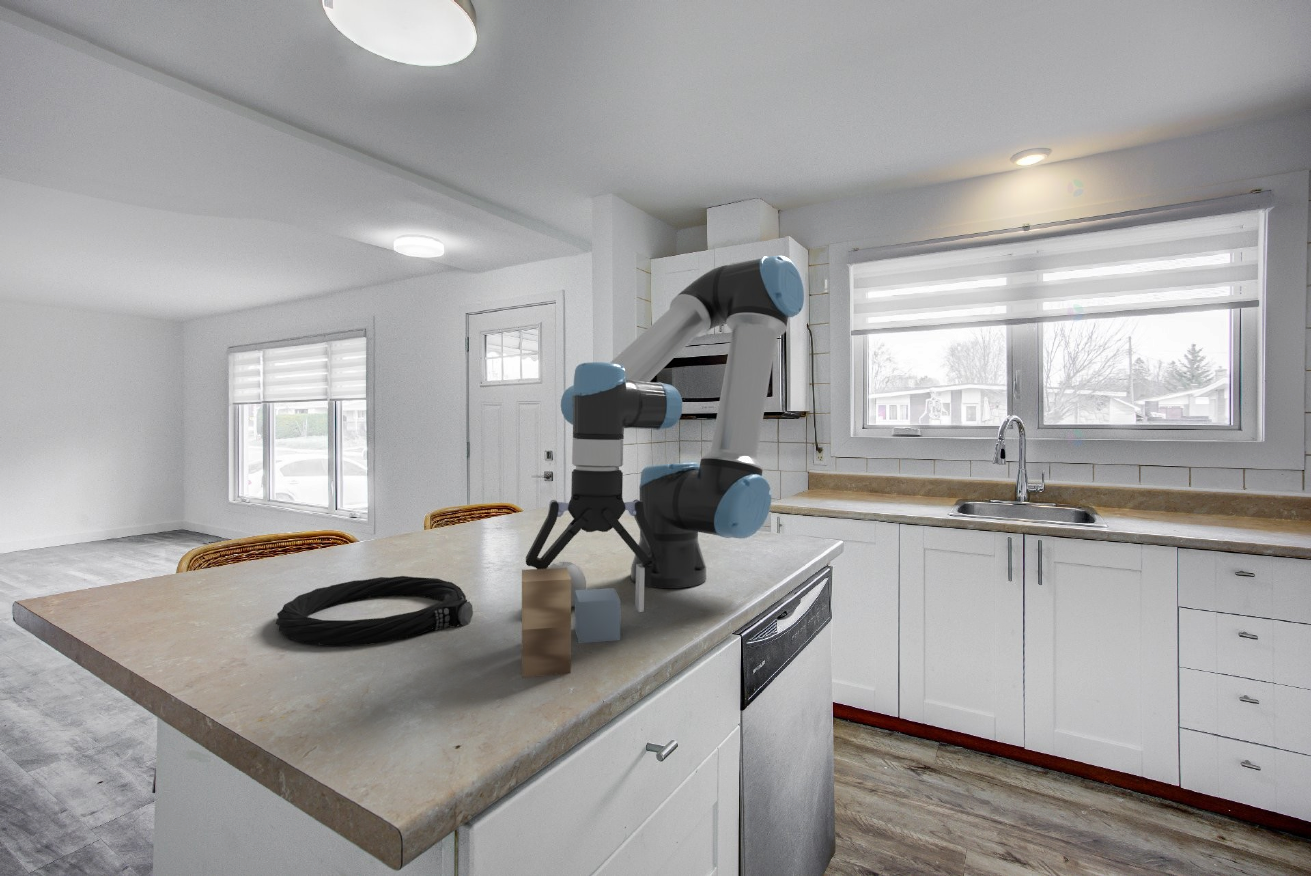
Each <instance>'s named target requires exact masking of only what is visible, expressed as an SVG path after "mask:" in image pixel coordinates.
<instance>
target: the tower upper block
mask: <svg viewBox="0 0 1311 876" xmlns="http://www.w3.org/2000/svg"><path fill="white" fill-rule="evenodd" d="M570 626H571V627H572V607H571V578H570V575H569V572H568V569H567V568H550V569H537V568H535V569H534V568H533V569H532V568H531V569H530V568H529V569H521V631H522V630H527V629H541V628H556V627H570Z"/></svg>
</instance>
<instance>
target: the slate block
mask: <svg viewBox="0 0 1311 876" xmlns="http://www.w3.org/2000/svg"><path fill="white" fill-rule="evenodd" d="M574 631H575V634H576V637H577V641H578V644H583V643H586V644H587V643H598V642H610V641H611V642H612V641H621V599H620V597H619V595H618V593H617V591H616V589H615V588H614V587H613V588H596V589H594V588H593V589H586V590H575V605H574Z"/></svg>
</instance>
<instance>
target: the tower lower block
mask: <svg viewBox="0 0 1311 876" xmlns="http://www.w3.org/2000/svg"><path fill="white" fill-rule="evenodd" d="M571 632H572V625H571V626H570V627H556V628H541V629H527V630H522V629H521V676H522V677H521V678H532V677H541V676H554V675H555V676H556V675H566V674H568V675H569V674H572V673H571V672H572V671H571V670H572V668H571V667H572V666H571V665H572V659H571V658H572V652H571V651H572V643H571V641H572V633H571Z"/></svg>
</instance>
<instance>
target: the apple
mask: <svg viewBox="0 0 1311 876" xmlns="http://www.w3.org/2000/svg"><path fill="white" fill-rule="evenodd" d="M549 567H551V568H567V569H568V572H569V575H570V578H571V608H572V607H575V590H587V579H586V576H585V574H584V572H583V570H582V569H581V567H579V565H577V564H576V563H573V562H572V561H565V560H562V561H559V562H558V563H555V562H554V563H552V564H550V565H549Z"/></svg>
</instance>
